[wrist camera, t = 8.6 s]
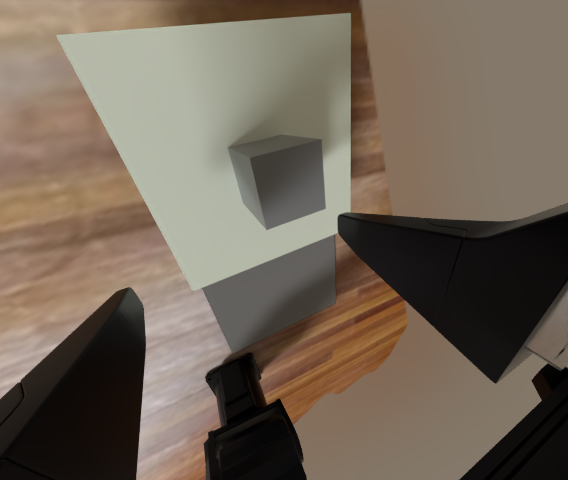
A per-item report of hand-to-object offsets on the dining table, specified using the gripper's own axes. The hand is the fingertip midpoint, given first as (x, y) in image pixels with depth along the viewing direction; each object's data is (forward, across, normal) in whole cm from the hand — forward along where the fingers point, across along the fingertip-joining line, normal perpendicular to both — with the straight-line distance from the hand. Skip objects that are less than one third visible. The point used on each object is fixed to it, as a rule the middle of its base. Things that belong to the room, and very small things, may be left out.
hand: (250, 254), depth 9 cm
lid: (+7, -3, -2) cm, 8 cm away
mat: (+12, -4, +13) cm, 18 cm away
